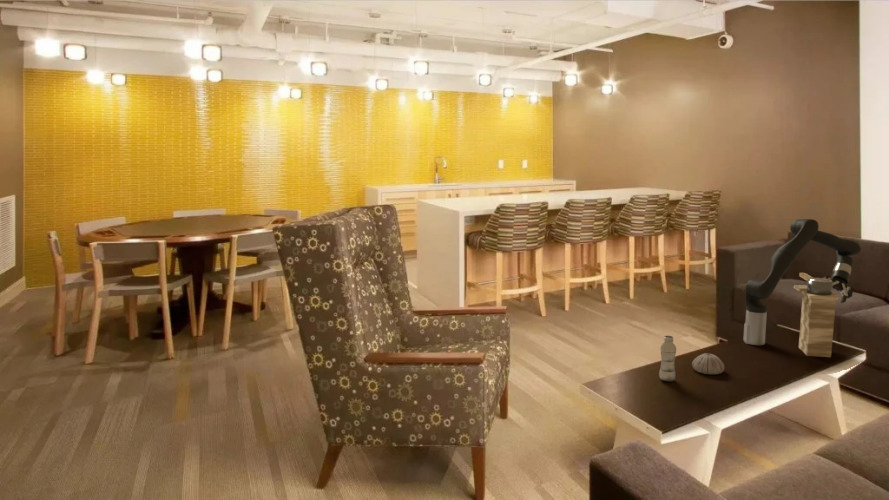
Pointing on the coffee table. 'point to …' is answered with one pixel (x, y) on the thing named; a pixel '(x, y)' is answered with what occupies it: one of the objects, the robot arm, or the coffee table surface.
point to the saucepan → (817, 285)
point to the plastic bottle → (667, 359)
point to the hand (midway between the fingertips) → (833, 298)
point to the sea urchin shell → (708, 364)
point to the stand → (816, 323)
